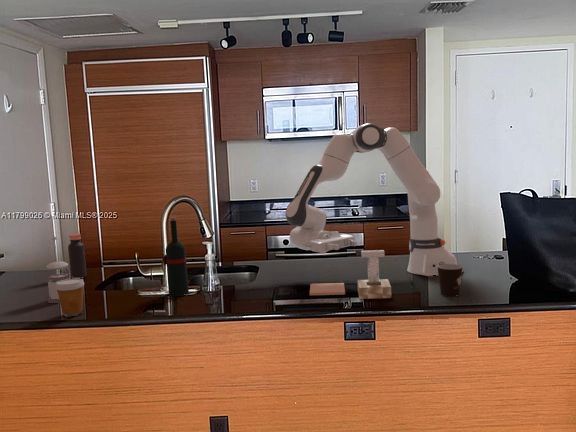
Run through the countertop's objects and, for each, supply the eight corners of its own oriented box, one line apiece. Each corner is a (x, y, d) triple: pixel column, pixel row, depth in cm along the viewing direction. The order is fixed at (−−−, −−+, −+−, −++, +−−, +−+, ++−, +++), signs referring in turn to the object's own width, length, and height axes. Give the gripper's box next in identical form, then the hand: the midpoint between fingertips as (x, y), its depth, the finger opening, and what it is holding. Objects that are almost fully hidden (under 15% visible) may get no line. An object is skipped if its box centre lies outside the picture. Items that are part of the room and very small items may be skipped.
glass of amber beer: (91, 310, 193) (88, 277, 192) (80, 318, 184) (77, 284, 182) (65, 311, 194) (62, 278, 192) (53, 319, 184) (49, 285, 183)
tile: (343, 285, 211) (343, 282, 211) (345, 294, 198) (345, 291, 198) (310, 286, 212) (310, 283, 212) (309, 295, 199) (309, 292, 199)
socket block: (387, 289, 202) (387, 279, 201) (391, 297, 191) (391, 286, 190) (357, 290, 203) (357, 280, 202) (359, 298, 191) (359, 287, 191)
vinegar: (76, 280, 241) (72, 236, 239) (68, 278, 245) (63, 235, 243) (90, 276, 247) (85, 233, 244) (81, 275, 251) (77, 232, 248)
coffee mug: (448, 298, 186) (447, 270, 185) (432, 293, 194) (432, 265, 193) (474, 293, 191) (474, 266, 189) (458, 288, 199) (458, 261, 197)
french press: (41, 304, 205) (34, 239, 201) (58, 295, 216) (52, 234, 213) (65, 303, 203) (58, 238, 200) (81, 295, 215) (75, 233, 211)
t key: (384, 292, 198) (383, 249, 196) (385, 295, 194) (384, 251, 192) (362, 292, 199) (361, 250, 197) (363, 295, 195) (362, 252, 193)
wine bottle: (165, 291, 214) (159, 216, 210) (190, 290, 214) (185, 215, 210) (160, 297, 206) (154, 219, 203) (186, 295, 206) (181, 218, 202)
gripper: (301, 237, 207) (327, 241, 197) (338, 230, 220) (364, 234, 210) (302, 253, 208) (327, 258, 197) (339, 245, 221) (364, 250, 211)
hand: (347, 245), depth 204 cm, fingers open, 8 cm apart
